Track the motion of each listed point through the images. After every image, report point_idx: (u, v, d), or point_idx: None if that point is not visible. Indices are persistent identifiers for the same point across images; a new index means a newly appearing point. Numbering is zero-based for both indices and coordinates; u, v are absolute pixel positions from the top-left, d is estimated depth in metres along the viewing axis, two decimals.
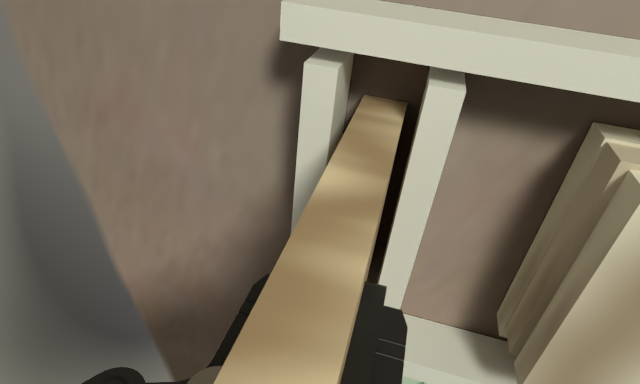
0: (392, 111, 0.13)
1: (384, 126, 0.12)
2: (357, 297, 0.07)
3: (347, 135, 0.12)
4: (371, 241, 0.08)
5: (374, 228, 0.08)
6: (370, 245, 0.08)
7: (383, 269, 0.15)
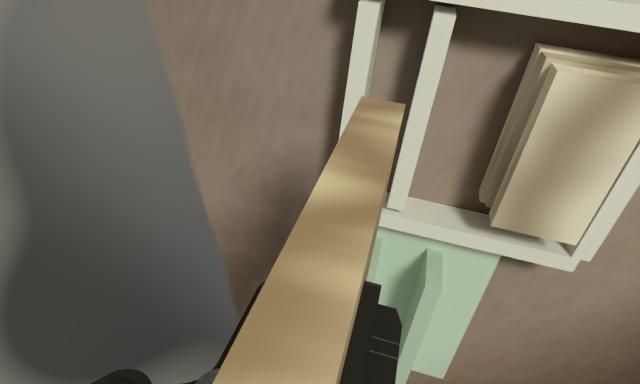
0: (390, 113, 0.13)
1: (381, 130, 0.12)
2: (352, 312, 0.06)
3: (343, 139, 0.11)
4: (367, 251, 0.08)
5: (370, 237, 0.08)
6: (366, 255, 0.08)
7: (402, 146, 0.23)
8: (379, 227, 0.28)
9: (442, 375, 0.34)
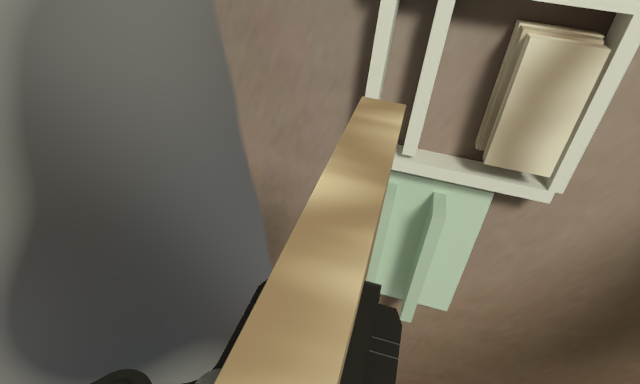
0: (391, 114, 0.13)
1: (382, 131, 0.12)
2: (352, 315, 0.06)
3: (344, 140, 0.11)
4: (368, 254, 0.08)
5: (371, 239, 0.08)
6: (367, 258, 0.08)
7: (414, 102, 0.29)
8: (394, 174, 0.34)
9: (446, 307, 0.41)
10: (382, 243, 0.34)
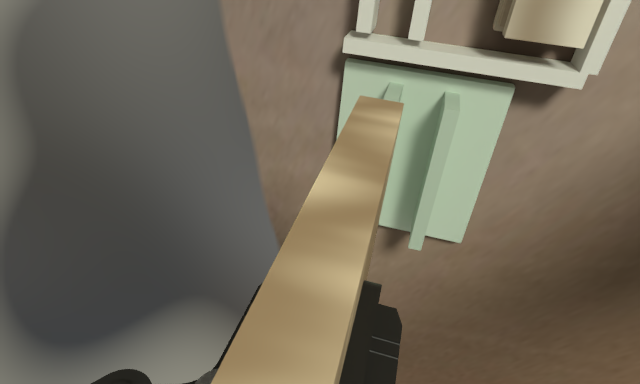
0: (388, 112, 0.13)
1: (379, 129, 0.12)
2: (350, 313, 0.06)
3: (341, 139, 0.11)
4: (365, 252, 0.08)
5: (368, 238, 0.08)
6: (364, 256, 0.08)
7: None
8: (400, 73, 0.30)
9: (460, 239, 0.36)
10: None
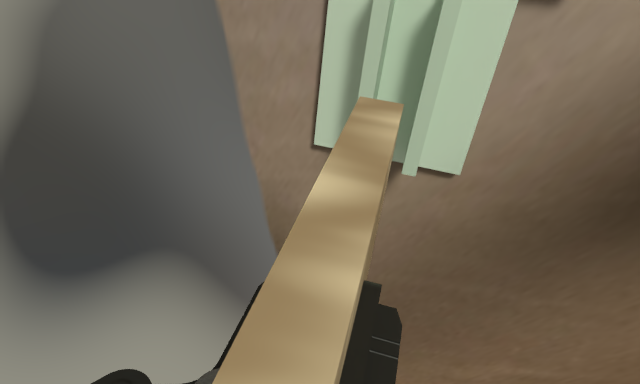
0: (388, 113, 0.13)
1: (379, 130, 0.12)
2: (349, 315, 0.06)
3: (341, 140, 0.11)
4: (365, 253, 0.08)
5: (368, 239, 0.08)
6: (364, 258, 0.08)
7: None
8: None
9: (459, 169, 0.33)
10: (379, 51, 0.26)
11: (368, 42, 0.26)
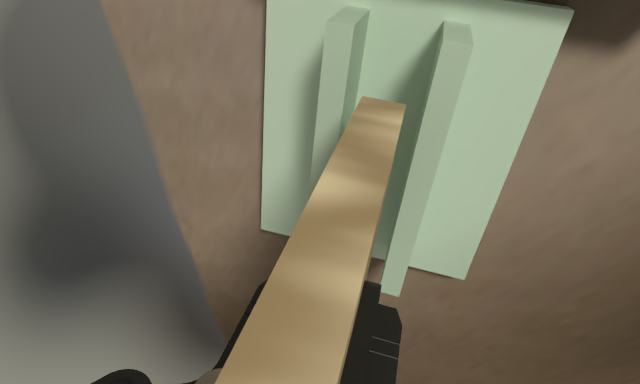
0: (391, 114, 0.13)
1: (381, 130, 0.12)
2: (352, 316, 0.06)
3: (344, 140, 0.11)
4: (367, 254, 0.08)
5: (370, 240, 0.08)
6: (366, 259, 0.08)
7: None
8: None
9: (463, 273, 0.23)
10: (337, 125, 0.16)
11: (319, 111, 0.16)
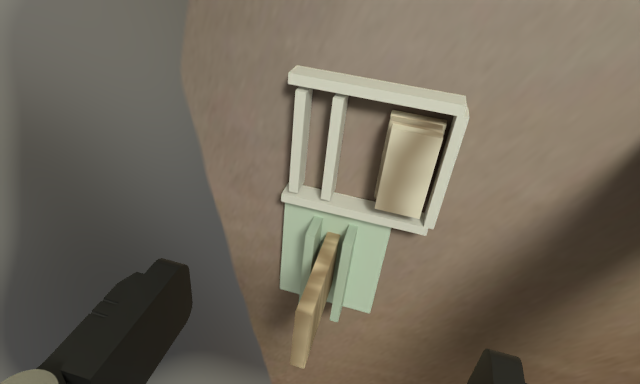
0: (335, 239, 0.46)
1: (331, 246, 0.45)
2: (319, 292, 0.39)
3: (320, 251, 0.44)
4: (323, 282, 0.41)
5: (324, 279, 0.41)
6: (323, 283, 0.41)
7: (325, 164, 0.41)
8: (320, 211, 0.46)
9: (369, 310, 0.52)
10: (310, 263, 0.46)
11: (304, 258, 0.45)
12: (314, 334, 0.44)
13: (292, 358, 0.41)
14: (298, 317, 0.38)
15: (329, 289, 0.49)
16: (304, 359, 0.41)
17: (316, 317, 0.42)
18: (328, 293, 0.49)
